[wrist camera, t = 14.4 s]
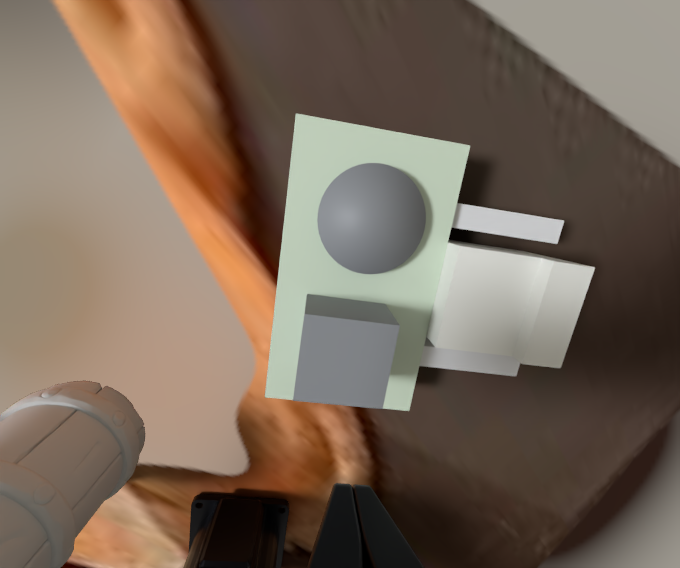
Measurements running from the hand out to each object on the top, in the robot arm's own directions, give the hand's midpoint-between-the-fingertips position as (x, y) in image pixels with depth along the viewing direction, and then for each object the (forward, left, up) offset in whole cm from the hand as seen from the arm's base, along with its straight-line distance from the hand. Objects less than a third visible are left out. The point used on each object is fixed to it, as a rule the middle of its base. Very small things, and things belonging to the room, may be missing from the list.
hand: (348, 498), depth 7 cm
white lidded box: (+3, -8, -13) cm, 15 cm away
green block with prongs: (+3, -4, -13) cm, 13 cm away
